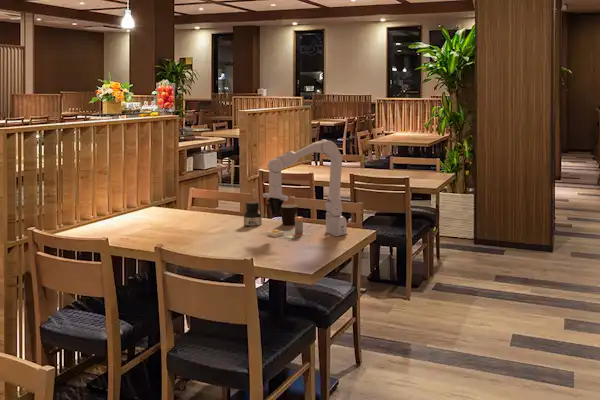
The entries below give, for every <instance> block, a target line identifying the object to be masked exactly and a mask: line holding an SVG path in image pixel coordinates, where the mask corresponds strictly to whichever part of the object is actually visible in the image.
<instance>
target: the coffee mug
mask: <svg viewBox="0 0 600 400" xmlns="http://www.w3.org/2000/svg"><path fill="white" fill-rule="evenodd" d="M298 209H299V208H298V205H297V204H282V206H281V209H280V213H281V222H282V226H287V227H288V226H289V227H290V226H291V227H292V226H295V217H298Z"/></svg>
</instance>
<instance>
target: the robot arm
mask: <svg viewBox="0 0 600 400" xmlns="http://www.w3.org/2000/svg"><path fill="white" fill-rule="evenodd" d="M313 153H320V154H321V153H322V154H324V155H325V156H326V157H327V158H328V159H329V160H330V170H329V187H328V194H327V198H326V201H325V203H324V209H325V211H326V213H325V233H326V234H328V236H333V237H339V236H343V235H347V234H348V233H349V232H348V231H347V230H348V229H347V226H348V225H347V223H348V222H347V218H346V217H345V216H343V215H342V212H343V204H342V198H341V195H340V194H341V184H342V183H341V182H342V165H343V155H342V154H341V152H340V149H339V148H338V145H337V144H336V143H335V142H333V141H332V140H327V139H320V140H318V141H315V142H313V143H310V144H308V145H306V146H305V147H303V148H300V149H299V150H296V151H293V150H291V151H290V150H287V151H285V153H284V154H281V155H277V156H276V158H271V159H269V161H268V162H267V168H268V191H269V192H265V193H262V197H263V198H266V199H267V198H268V199H267V204H268V205H269V207H270V210H271V214H272V215H273V216H279V215H280V213H281V206H282V205H284V202H287V201H289V196H288V195H285V194H282V193H283V191H282V189H283V188H282V178H283V177H282V170H283V169H285V168H288V167H289V166H290V167H291V166H292V165H294V164H296V163H297V161H298V159H301V158H303V157H305V156H308V155H310V154H313Z"/></svg>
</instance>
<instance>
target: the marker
mask: <svg viewBox="0 0 600 400" xmlns="http://www.w3.org/2000/svg"><path fill="white" fill-rule="evenodd" d="M303 221H304V217H303V216H297V217H295V225H294V230H295V235H303V232H304V222H303Z"/></svg>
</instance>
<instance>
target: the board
mask: <svg viewBox="0 0 600 400" xmlns="http://www.w3.org/2000/svg"><path fill="white" fill-rule="evenodd" d="M278 230H279V233H273V232H272V231H271V230H270V231H267V232H262V233H261V235H263V236H268V237H273V238H277V239H283V240H286V241H292V240H297V239H300V238H304V237H309V236H314V234H313V233H308V232H304V231H303V235H295V229H290V228H284V227H283V228H280V229H278Z"/></svg>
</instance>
